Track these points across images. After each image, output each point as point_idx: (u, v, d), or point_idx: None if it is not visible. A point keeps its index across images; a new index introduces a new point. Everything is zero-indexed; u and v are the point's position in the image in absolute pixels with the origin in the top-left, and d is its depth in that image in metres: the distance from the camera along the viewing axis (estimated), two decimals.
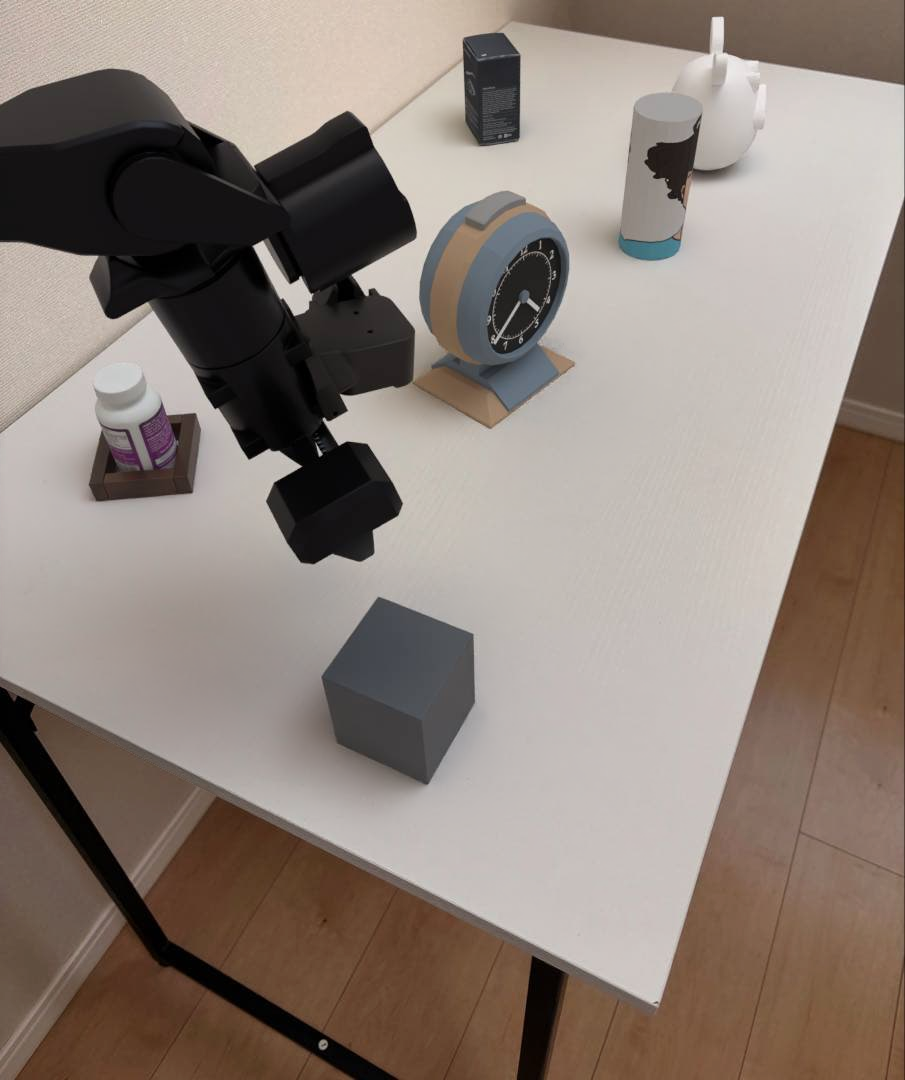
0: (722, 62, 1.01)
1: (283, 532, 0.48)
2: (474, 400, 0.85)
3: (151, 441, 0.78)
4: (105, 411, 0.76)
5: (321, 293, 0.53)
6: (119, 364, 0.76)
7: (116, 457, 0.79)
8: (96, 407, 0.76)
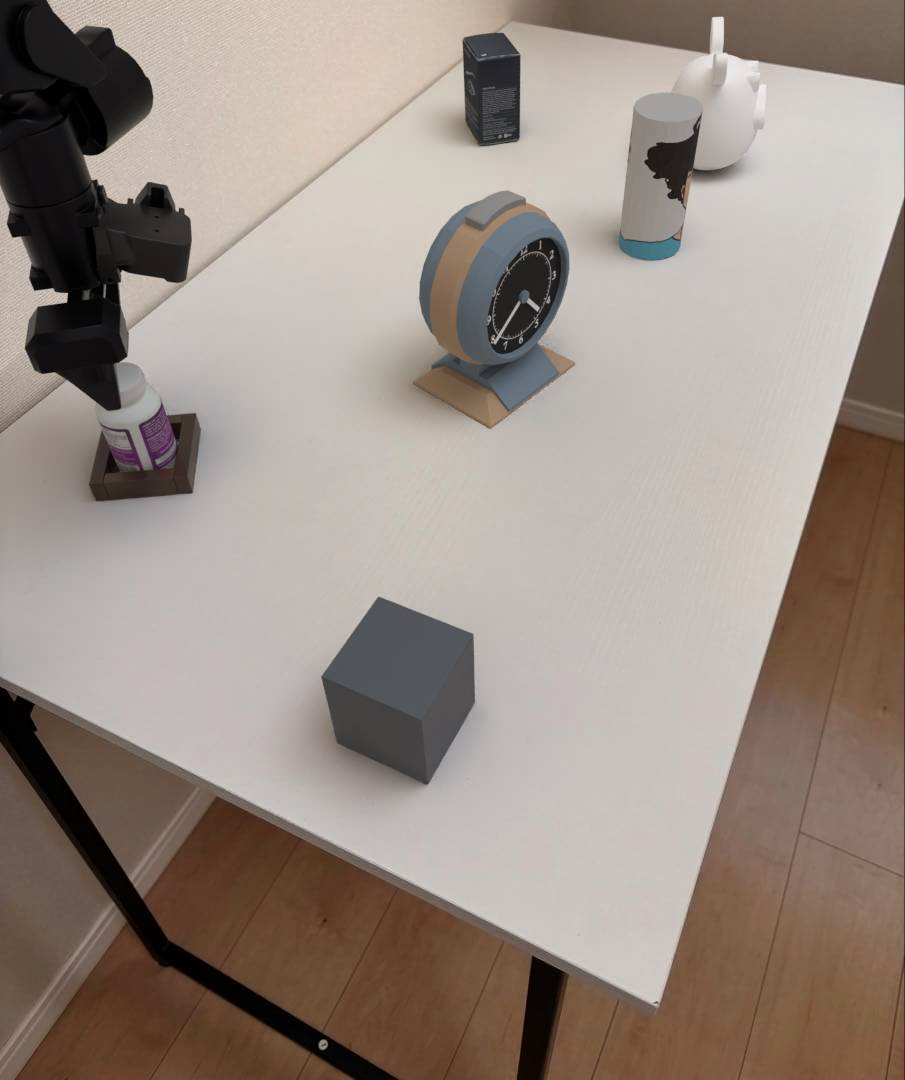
0: (722, 62, 1.01)
1: (26, 340, 0.62)
2: (474, 400, 0.85)
3: (151, 441, 0.78)
4: (105, 411, 0.76)
5: (140, 196, 0.69)
6: (119, 364, 0.76)
7: (116, 457, 0.79)
8: (96, 407, 0.76)
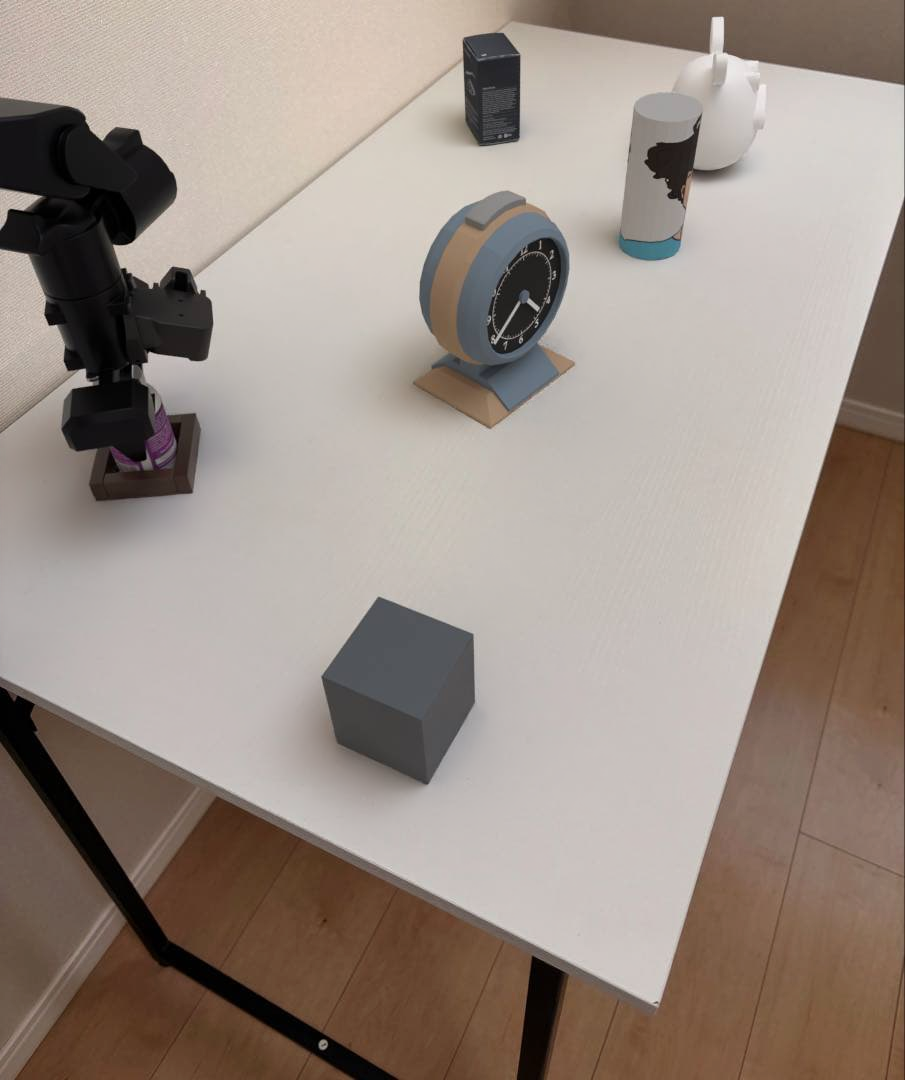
0: (722, 62, 1.01)
1: (62, 422, 0.68)
2: (474, 400, 0.85)
3: (151, 440, 0.78)
4: None
5: (165, 280, 0.74)
6: None
7: (116, 457, 0.79)
8: None
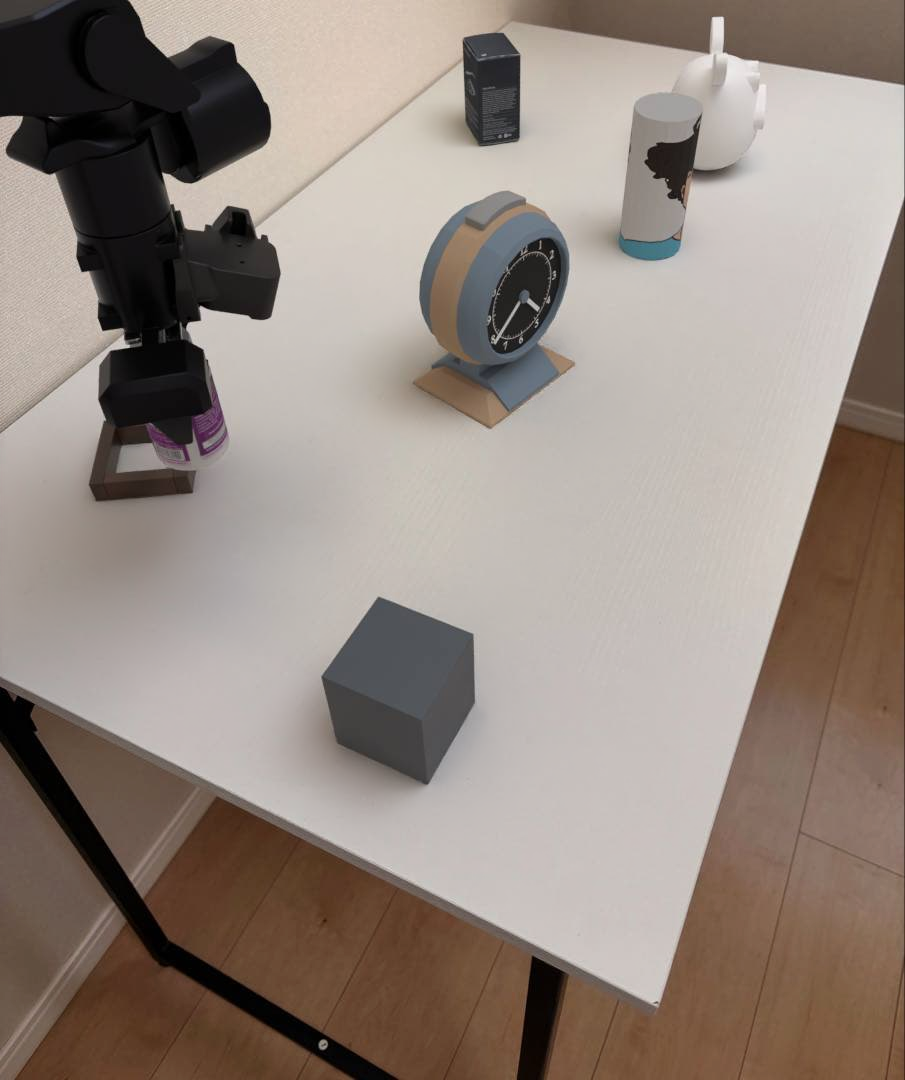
0: (722, 62, 1.01)
1: (99, 391, 0.54)
2: (474, 400, 0.85)
3: (199, 419, 0.64)
4: None
5: (219, 222, 0.61)
6: None
7: (155, 440, 0.66)
8: None
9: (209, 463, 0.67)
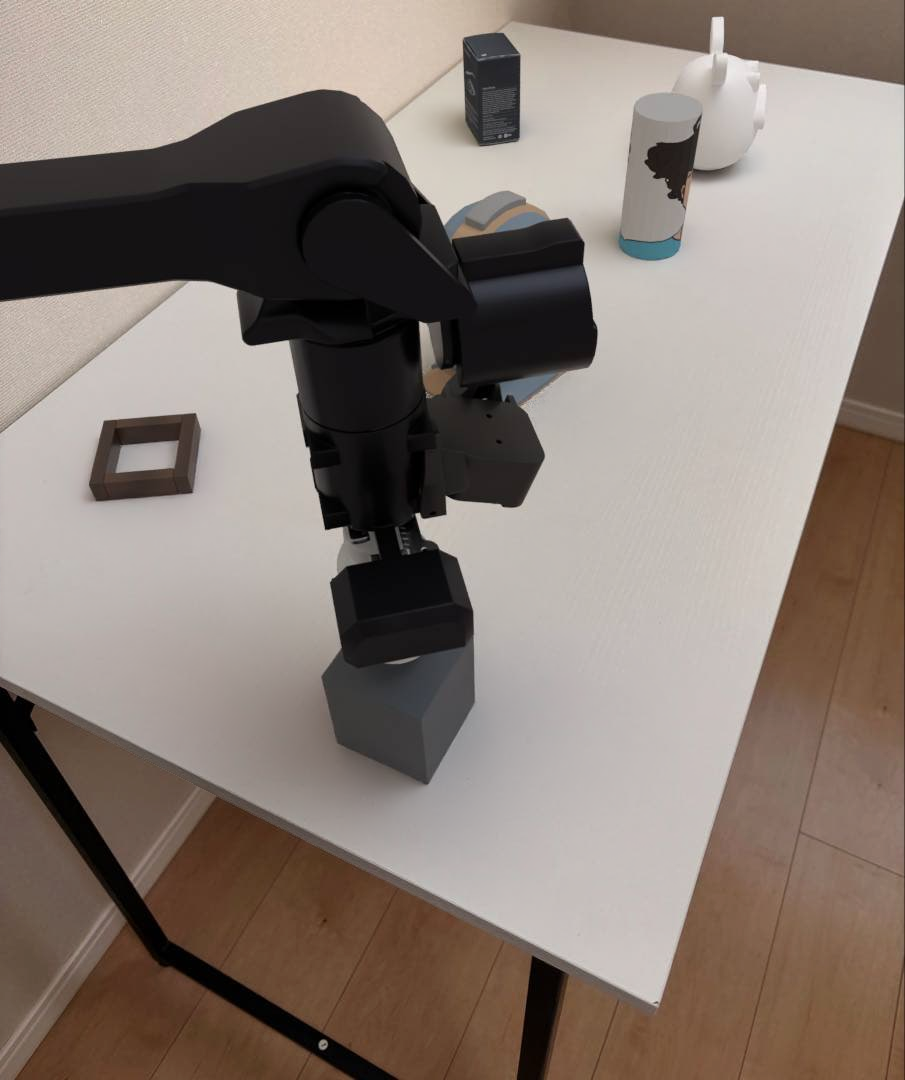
0: (722, 62, 1.01)
1: (339, 624, 0.42)
2: None
3: None
4: None
5: None
6: None
7: None
8: (342, 567, 0.51)
9: None
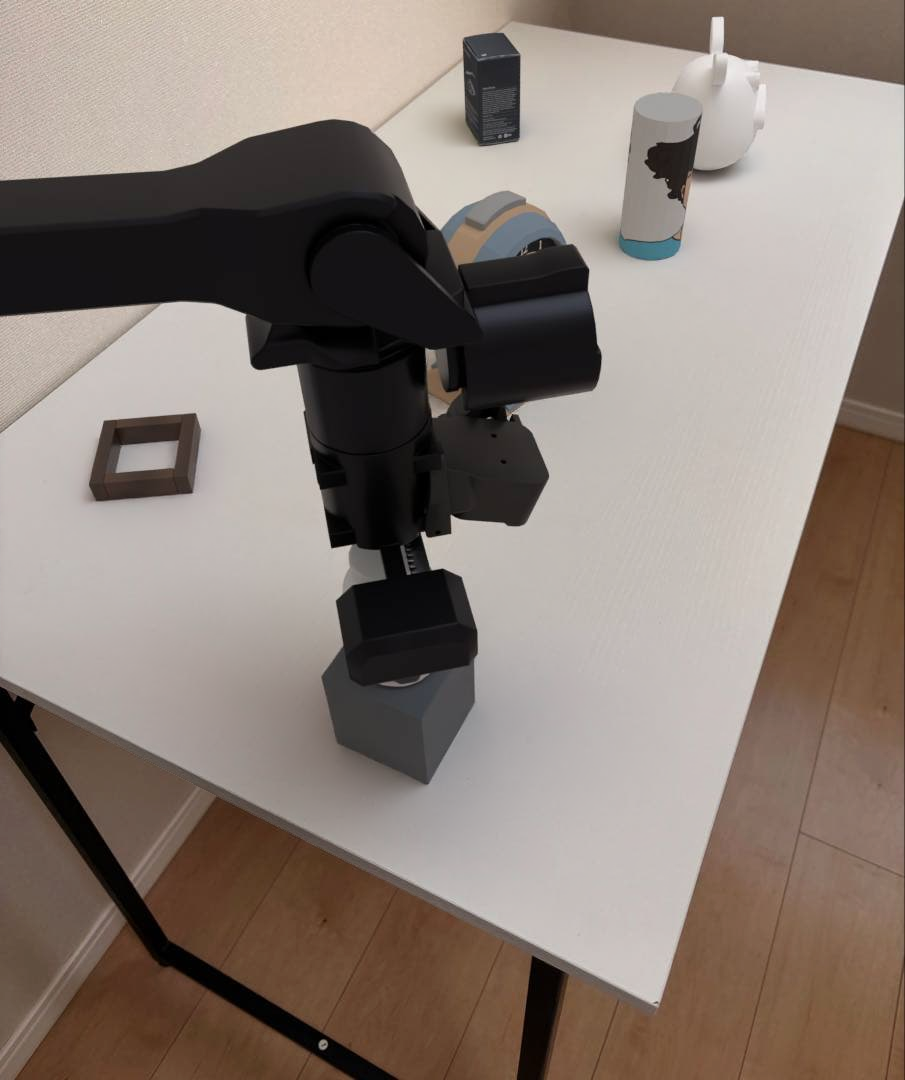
0: (722, 62, 1.01)
1: (344, 643, 0.43)
2: None
3: None
4: None
5: None
6: None
7: None
8: None
9: (422, 678, 0.57)
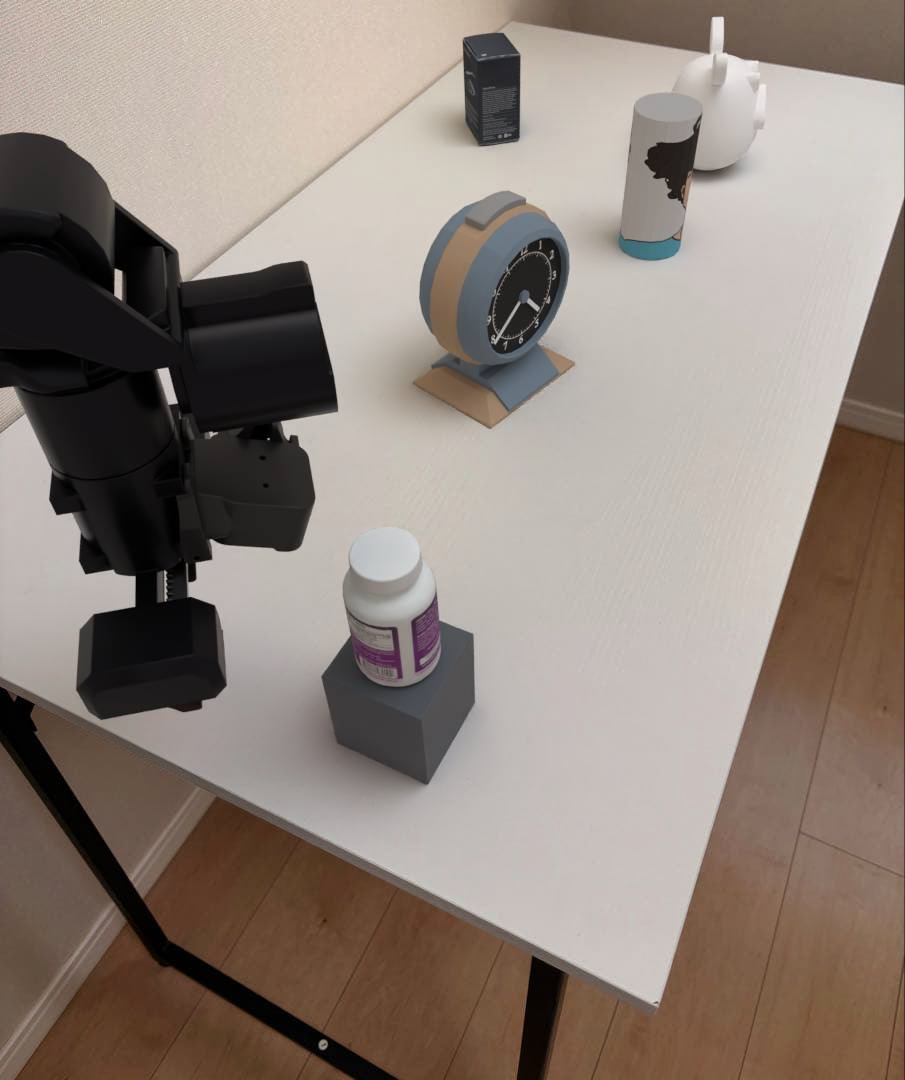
0: (722, 62, 1.01)
1: (78, 675, 0.41)
2: (474, 400, 0.85)
3: (421, 637, 0.54)
4: (364, 602, 0.52)
5: None
6: (382, 530, 0.52)
7: (364, 656, 0.55)
8: (348, 593, 0.52)
9: (422, 678, 0.57)
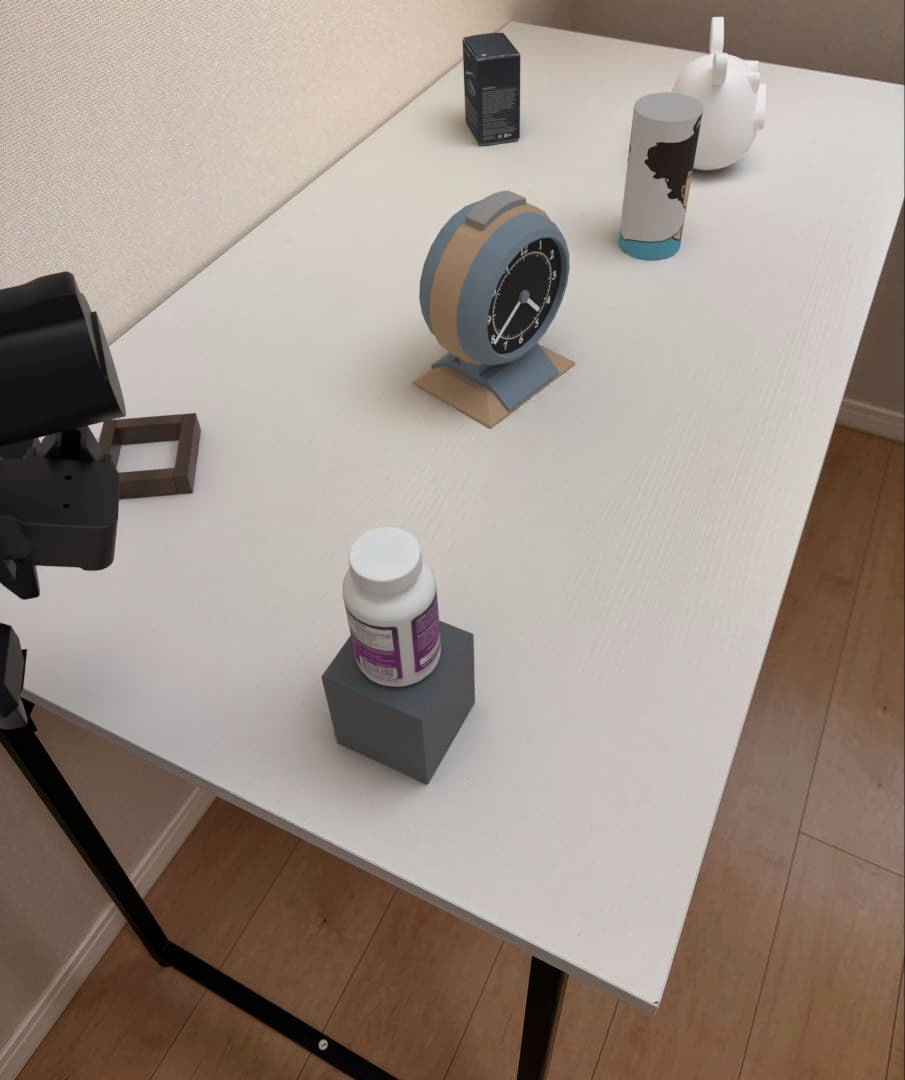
0: (722, 62, 1.01)
1: None
2: (474, 400, 0.85)
3: (421, 637, 0.54)
4: (364, 602, 0.52)
5: (46, 442, 0.48)
6: (382, 530, 0.52)
7: (364, 656, 0.55)
8: (348, 593, 0.52)
9: (422, 678, 0.57)
